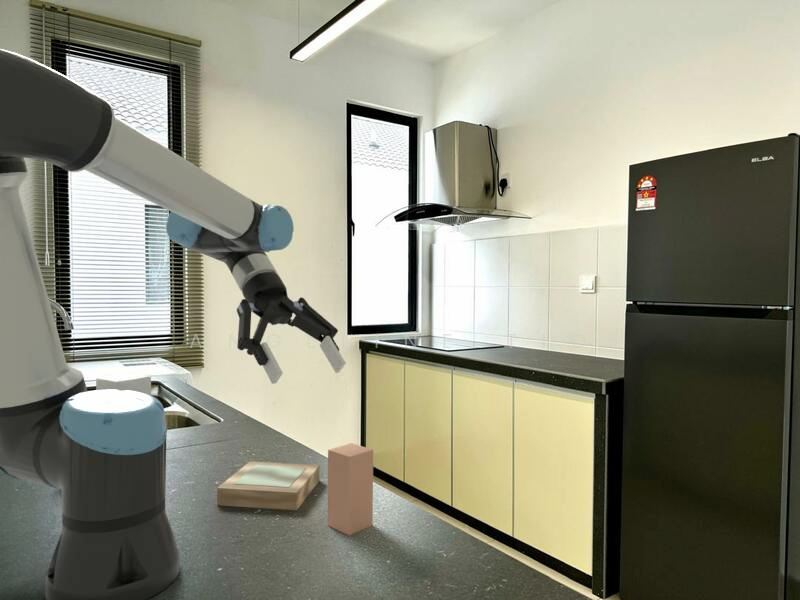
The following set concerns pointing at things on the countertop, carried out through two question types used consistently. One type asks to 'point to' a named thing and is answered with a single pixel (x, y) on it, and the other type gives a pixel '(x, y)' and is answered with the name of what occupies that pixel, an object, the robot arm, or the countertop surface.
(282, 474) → the oak picture frame
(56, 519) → the countertop surface
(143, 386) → the supplement box
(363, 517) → the tall block
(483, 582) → the countertop surface
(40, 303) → the robot arm
